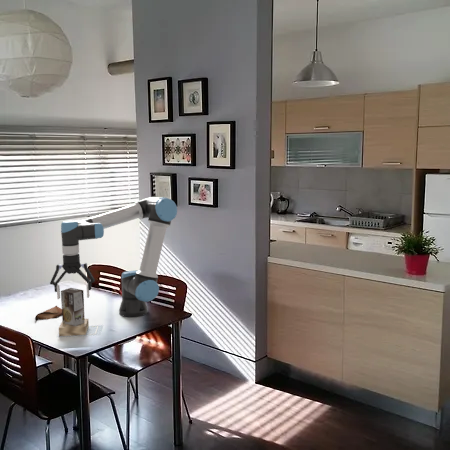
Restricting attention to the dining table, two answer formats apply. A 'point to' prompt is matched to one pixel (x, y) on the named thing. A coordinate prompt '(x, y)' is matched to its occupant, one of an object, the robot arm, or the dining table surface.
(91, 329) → the board
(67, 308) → the coffee box
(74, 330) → the oak plinth
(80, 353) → the dining table surface
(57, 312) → the sunglasses case
